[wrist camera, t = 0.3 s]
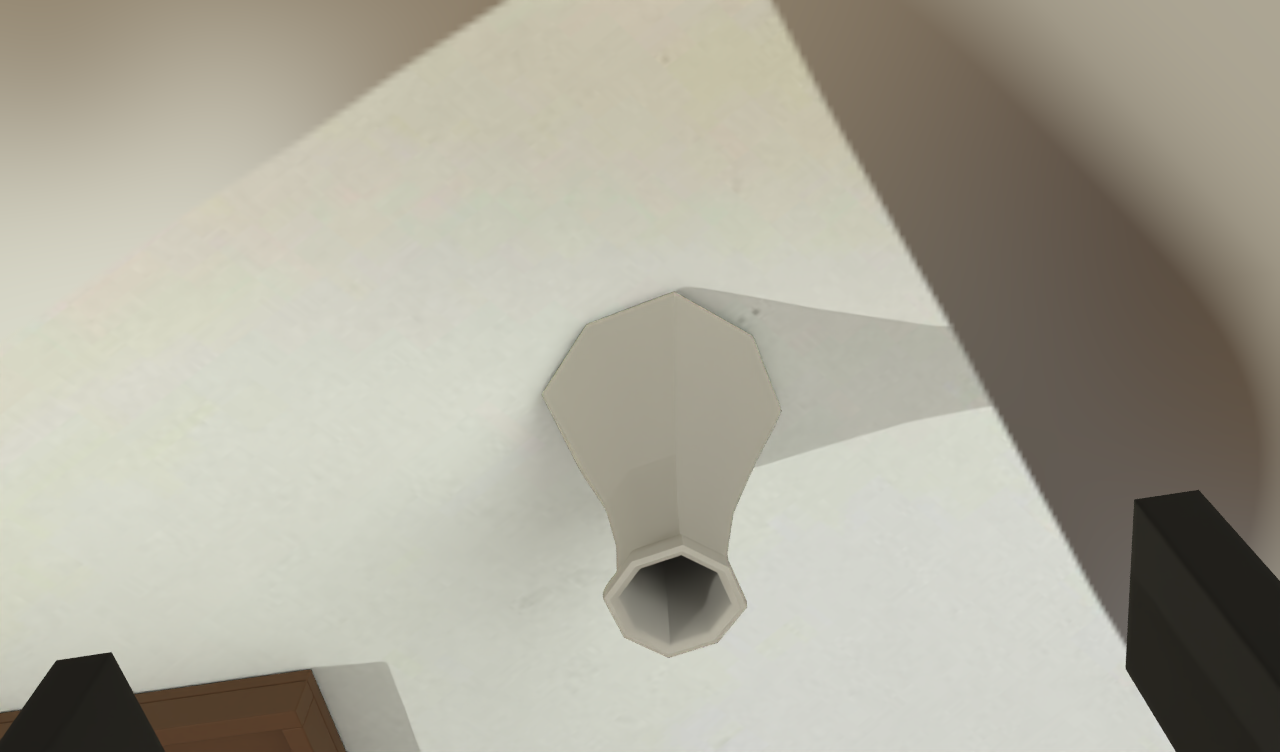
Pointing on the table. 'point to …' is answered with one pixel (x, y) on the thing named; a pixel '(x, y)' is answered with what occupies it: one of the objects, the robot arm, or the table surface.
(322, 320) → the table surface
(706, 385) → the flask
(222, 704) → the tray
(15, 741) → the robot arm
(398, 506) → the table surface
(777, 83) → the table surface
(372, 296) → the table surface
